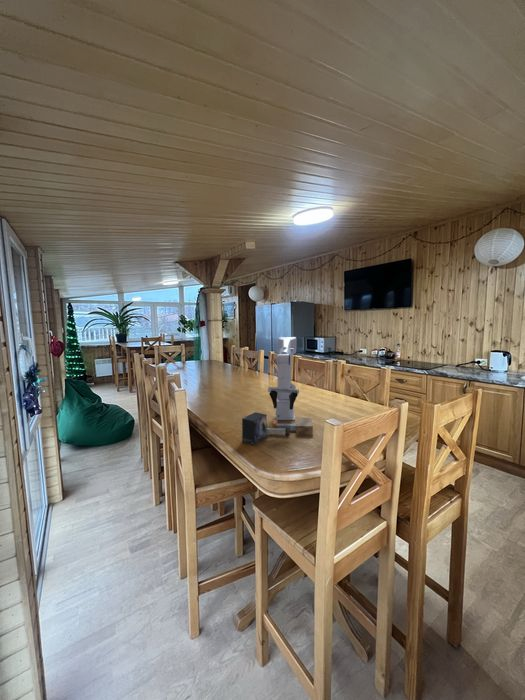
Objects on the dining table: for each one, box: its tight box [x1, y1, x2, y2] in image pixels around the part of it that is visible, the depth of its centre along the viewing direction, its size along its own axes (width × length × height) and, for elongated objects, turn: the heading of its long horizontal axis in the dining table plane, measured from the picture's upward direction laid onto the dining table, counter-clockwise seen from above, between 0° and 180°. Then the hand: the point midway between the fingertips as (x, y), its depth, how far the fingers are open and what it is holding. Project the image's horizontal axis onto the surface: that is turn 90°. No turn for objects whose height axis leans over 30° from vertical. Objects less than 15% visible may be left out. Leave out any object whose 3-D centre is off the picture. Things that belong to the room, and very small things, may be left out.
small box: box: [241, 411, 268, 446], centre depth 132 cm, size 11×6×10 cm, turn 148°
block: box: [296, 417, 314, 436], centre depth 142 cm, size 7×12×4 cm, turn 174°
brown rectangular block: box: [272, 418, 297, 432], centre depth 143 cm, size 12×6×4 cm, turn 84°
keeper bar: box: [267, 427, 286, 435], centre depth 137 cm, size 8×1×2 cm, turn 84°
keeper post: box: [285, 426, 291, 437], centre depth 137 cm, size 2×2×4 cm
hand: (283, 408), depth 139 cm, fingers open, 7 cm apart
